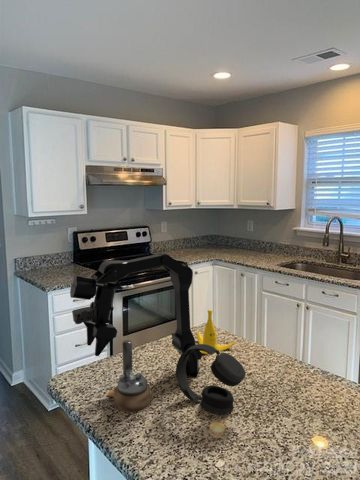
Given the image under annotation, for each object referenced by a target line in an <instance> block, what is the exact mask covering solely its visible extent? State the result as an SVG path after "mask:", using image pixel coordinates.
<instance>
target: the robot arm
mask: <svg viewBox="0 0 360 480" xmlns="http://www.w3.org/2000/svg"><path fill="white" fill-rule="evenodd" d="M160 267H163V269H165V270H166V271H167V272H168V273H169V277H170V282H171V284H172V286H173V289H174V294H175V296H174V297H175V298H174V299H175V311H176V312H175V315H176V330H175V332H174V333H171V345H172V346H173V348H174V349H175V350H176V351H177V353H178V354H180V356H181V355H182V354H183V353H184V352H185V351H187V350H188V349H189V348H190V347H192V346H194V345H197V343H196V340H195V336H194V334H193V332H192V329H191V314H190V313H191V311H190V292H189V291H190V288H191V285H192V283H193V278H194V277H193V274H194V272H193V269H192V268H191V267H190V266H188V265H186V264H182V263H181V262H178V261H177V260H176V259H174V258H173V257H171V255H170V254H168V253H165V252H159V253H157V254H152V255H148V256H143V257H137V258H134V259H129V260H112V259H111V260H105V261H103V262H102V263H101V264H100V265H99V268H98V269H97V270H96V271H95V272H94V273H93V274H92V275H91V276H90V277H89V276H82V275H79V274H76V275H75V278H74V280H73V281H72V284H71V285H70V291H69V296H70V298H71V299H80V300H92V299H93V300H94V301H91V302H90V305H89V306H87V307H86V306H85V307H81V308H76V309H73V310H72V311H71V312H72V313H71V314H72V319H73V322H74V323H75V325H80V324H84V325H85V327H86V344H87V346H90V347H91V345H92V344H93V342H94V341H95V347H94V356H95V357H100V355H101V353H103V351H104V350H105V349H106V347H107V346H108V345H109V343H111V342H112V340H114V339H115V338H117V335H118V329H116V327H115V326H114V325H113V324H112V323H111V322H112V320H111V318H110V317H111V312H112V311H114V309H115V308H114V306H113V303H114V299H115V293H116V290H119V291H121V290H123V287H122V285H121V284H120V281H119V280H122V279H124V278H126V277H128V275H131V274H133V273H134V274H135V273H137V272H142V271H146V270H151V269H155V268H160ZM194 350H196V349H193V350H189V351H188V352H187V353H186V354H185V356H184V359H183V362H184V360H185V358H186V356H187V355H188V354H189V353H190V352H192V351H194ZM202 357H203V353H201V352H200V351H196V352H193V353H191V354H190V355H189V357H188V360H187V363H186V375H187V377H190V378H191V377H192V378H198V376H199V373H200V365H199V364H200V363H199V361H200V360H202ZM183 362H182V365H183Z"/></svg>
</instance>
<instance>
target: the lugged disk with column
mask: <svg viewBox="0 0 360 480" xmlns="http://www.w3.org/2000/svg"><path fill="white" fill-rule="evenodd" d="M122 369H123V370H122V372H123V373H122V375H120V376H119V379H118V380H117V386H118V392H119V393H120V394H122V395H125V396H136V395H140V394H142V393H144V392H145V391H146V390H147V384H148V380H147V378H146V377H145V376H143V373H141V372H136V374H134V371H133V342H132V340H131V339H130V340H129V339H126V340H124V341H122Z"/></svg>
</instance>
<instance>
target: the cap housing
mask: <svg viewBox="0 0 360 480" xmlns="http://www.w3.org/2000/svg"><path fill="white" fill-rule="evenodd" d="M106 397H108V398H110V397H111V398H114V406H115V407H116V409H118V410H120V411H123V412H127V413H128V412H133V413H134V412H139V411H141V410H144V409H146V408H148V407H149V405H150V404H151V401H152V399H151V386H150V384H149V383H147V390H146V391H145V392H144V393H142V394H140V395H136V396H125V395H122V394H120V393H119V392H118V385H116V386H115V388H114V389H113V390H112V389H110V390H109V392H108V393H107V395H106Z"/></svg>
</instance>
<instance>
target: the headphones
mask: <svg viewBox="0 0 360 480" xmlns="http://www.w3.org/2000/svg"><path fill="white" fill-rule="evenodd" d="M193 349H196V350H194V351H192V352H190V353H189V354H188V355H187V356H186V358H185V360H184V362H183V359H184V356H185V354H186V353H187V352H188V351H189V350H193ZM196 351H205V352H207V353H208V354H207V355H210V356H213V354H216V356H215V359H214V360H213V362H211V364H210V371H211V373H212V375H213V376H214V377H215V379H217V380H218V381H220V382H221V383H222V384H224V385H226V386H228V387H233V388H234V387H236V386H238V385H240V383H241V382H242V381H243V380H244V379H245V378H246V371H245V367H244V366H243V365H242V364H241V362H240V361H239V360H237V359H236V358H235V357H234V356H232V354H230V353H227V352H221V351H218V350H217V349H215V348H214V347H212V346H209V345H206V344H199V343H198V344H197V343H196V345H194V346H192V347H190V348H189V349H188V350H187V351H185V352H184V353H183V354H182V355H181V354H180V356H179V358H178V360H177V363H176V367H175V375H176V378H175V379H176V381H177V385H178V387H179V388H180V390H181V392H182V393H183V395H184V397H186V398H187V399H188V400H189V401H191V402H193V403H197V402H198V401H200V408H201V409H202V410H205V411H206V412H207V413H209V414H210V413H211V414H214V415H228V414H229V413H231V412H232V411H234V410H233V409H234V396H233V393H232V392H231V391H230V390H229V389H227V388H224V387H221V386H219V385H208V386H207V385H206V386H205V387H204V388H203V389H202V391H201V396H199V395H198V394H197V393H196V392H195V391H193V390H192V388H191V387H190V385H189V380H188V376H187V375H186V363H187V360H188V357H189V355H190V354H191V353H193V352H196ZM182 362H183V365H182Z"/></svg>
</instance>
